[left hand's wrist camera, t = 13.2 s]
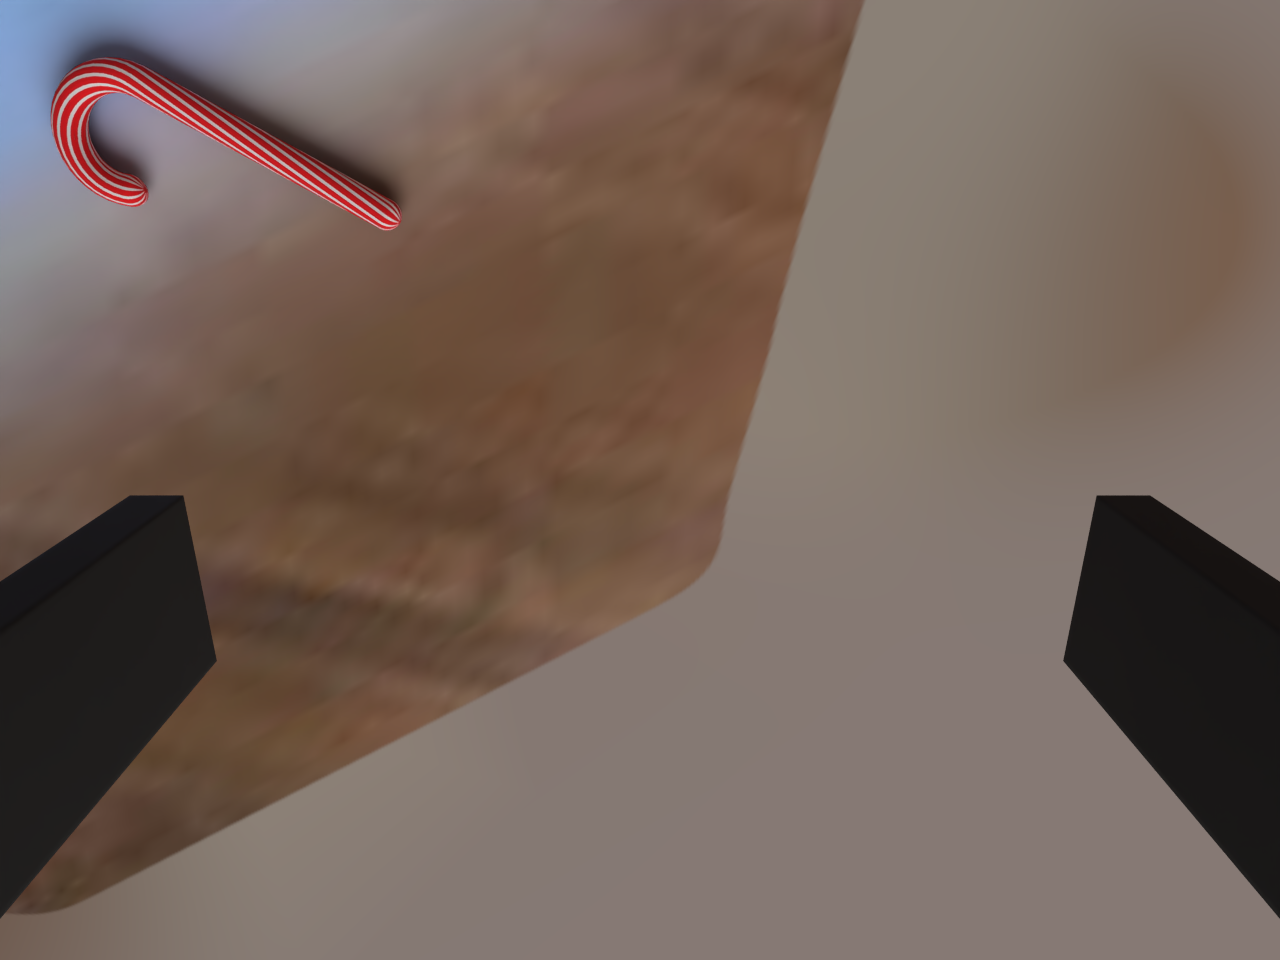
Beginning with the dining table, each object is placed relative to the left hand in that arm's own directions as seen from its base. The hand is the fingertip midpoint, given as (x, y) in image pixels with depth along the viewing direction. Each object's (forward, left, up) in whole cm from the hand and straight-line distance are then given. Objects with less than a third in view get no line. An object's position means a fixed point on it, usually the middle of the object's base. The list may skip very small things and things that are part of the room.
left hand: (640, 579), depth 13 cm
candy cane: (-17, -9, -30) cm, 35 cm away
